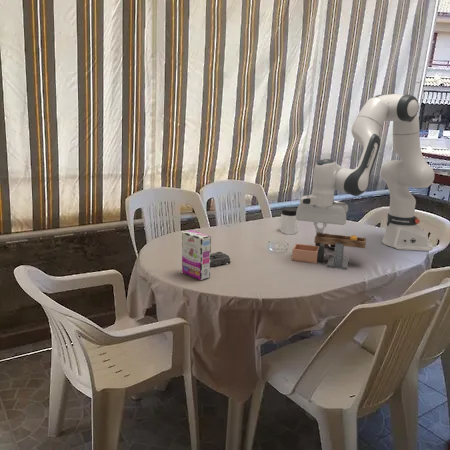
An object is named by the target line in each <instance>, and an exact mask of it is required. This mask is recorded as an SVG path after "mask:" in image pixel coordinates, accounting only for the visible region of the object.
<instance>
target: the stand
mask: <svg viewBox="0 0 450 450" xmlns="http://www.w3.org/2000/svg"><path fill="white" fill-rule="evenodd" d="M344 248H345V246H343V243H335V248H334V255H329V257H328V260H327V263H326V268H333V269H341V270H348V268H349V267H348V266H349V260H350V259H349V258H350V257H349V256H344ZM325 249H326V247H325V244H321V243H320V246H319V255H318V261H317V264H319V263H320V264H323V263H324V260H325V251H326V250H325Z"/></svg>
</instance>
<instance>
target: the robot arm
mask: <svg viewBox="0 0 450 450" xmlns="http://www.w3.org/2000/svg"><path fill="white" fill-rule="evenodd" d="M419 104H420V103H419V101H418V98H417V97H416V96H414V95H411V94H406V93H405V94H402V93H391V94H377V95H375V96H373V97H371V98H369V99H368V100H367V101H366V102H365V104H364V105H363V106H362V108H361V109H360V111H359V113H358V114H357V116H356V117H355V119H354V122H353V124H352V127H351V135H352V137H353V138H354V140H355V141H356V142H357V143H358V144H359V145H360V146H362V148H363V150H362V154H361V156H360V158H359V162H358V164H357V166H356V167H355V168H353V169H352V168H347V167H343V166H342V165H339V164H338V163H337V162H336V161H335V160H334V159H329V158H327V159H325V158H324V159H320V160H318V161H317V162H316V163H315V165H314V169H313V175H312V184H313V186H312V187H313V188H312V190H311V194H308V195H307V194H306V195H302V197H300V200H299V204H298V205H297V212H296V219H297V220H298V222H299V221H301V222H310V223H313V225H314V228H315V233H323V234H324V229H325V228H326V227H327V225H328V224H330V225H339V226H344V225H346V223H347V213H348V212H349V205H348V203H346V202H345V201H338V200H334V199H335V191H339V192H342V193H346V194H348V195H351V196H354V197H358V196H360V195H362V194H364V193H365V192H366V191H367V189H368V187H369V184H370V179H371V174H372V172H373V168H374V166H375V162H376V159H377V157H378V154H379V151H380V147H381V138H380V133H381V130H382V128H383V125H384V124H385V122H386V121H388V122H392V150H393V152H394V153H395V154H396V155H397V156H398V157H399V158H400V160H399V159H393V160H387V161H385V162H384V163H383V164H382V165H381V168H380V176H381V178H382V179H383V181H384V182H385V184H386V185H387V189H388V191H389V210H388V213H387V216H386V228H385V233H384V235H383V238H382V240H381V243H382V244H383V245H385V246H388V247H392V248H393V249H396V250H402V251H403V250H404V251H405V250H407V251H419V252H420V251H421V252H422V251H423V252H424V251H425V252H431V251H433V249H434V247H433V244H432V242H430V241H429V235H428V233H427V232H426V231H425V230H424V229H423V228H422V227H421V226H420V225H419V224H420V223H421V221H420V219H419V218H418V217H417V216H416V215H415V210H416V205H417V200H416V198H415V196H414V195H413V194H412V193H411V191H410V189H409V188H413V189H427V188H428V187H430V186H431V185H432V184H433V182H434V180H435V170H434V168H432V167H431V165H429V163H428V162H427V160H426V159H425V157H424V155H423V154H422V150H421V139H420V138H421V136H420V119H419V115H418V113H419V109H420V105H419ZM318 223H319V224H322V227H318Z"/></svg>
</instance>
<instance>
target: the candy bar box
mask: <svg viewBox="0 0 450 450" xmlns="http://www.w3.org/2000/svg"><path fill="white" fill-rule="evenodd" d="M181 234H182V236H181V242H182V243H181V247H182V248H181V253H182V255H181V257H182V258H181V265H182V266H181V268H182V269H181V273H182V272H183V273H182V274H184V273H185V274H184V275H186V274H187V275H186V276H188V275H190V276H189V277H191V276H192V277H191V278H193V277H194V279H196V278H197V279H196V280H198V279H199V280H198V281H200V280H202V281H205V280H208V279H210V278H211V267H210V255H211V254H212V253H211V252H212V251H211V250H212V249H211V245H212V240H211V239H212V236H211V235H208V234H205V233H201V232H199V231H196V230H191V229H190V230H185V231H182V232H181ZM207 278H208V279H207ZM204 279H205V280H204Z"/></svg>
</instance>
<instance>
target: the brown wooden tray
mask: <svg viewBox="0 0 450 450" xmlns="http://www.w3.org/2000/svg"><path fill="white" fill-rule="evenodd" d="M315 233H316V232H315ZM351 236H352V235H350V236H348V235H341V234H330V233H327V234H325V233H324V232H323V233H316V234H315V236H314V243H321V244H329V246H330V245H335V243H343V246H344V247H349V248H357V249H366V245H367V238H366V237H358V236H356V237H357V241H355V240H350V237H351Z"/></svg>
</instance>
